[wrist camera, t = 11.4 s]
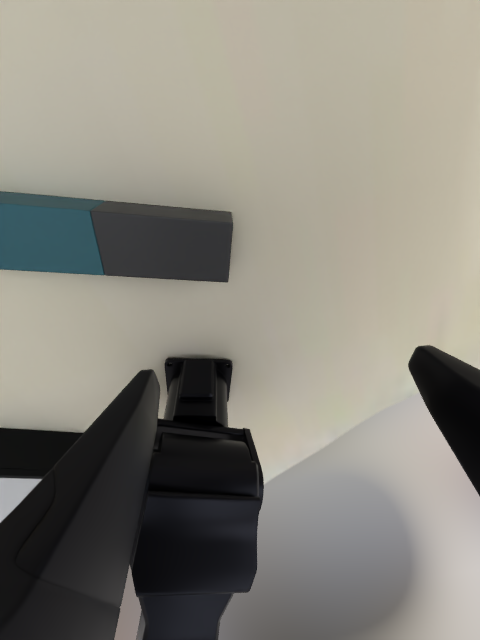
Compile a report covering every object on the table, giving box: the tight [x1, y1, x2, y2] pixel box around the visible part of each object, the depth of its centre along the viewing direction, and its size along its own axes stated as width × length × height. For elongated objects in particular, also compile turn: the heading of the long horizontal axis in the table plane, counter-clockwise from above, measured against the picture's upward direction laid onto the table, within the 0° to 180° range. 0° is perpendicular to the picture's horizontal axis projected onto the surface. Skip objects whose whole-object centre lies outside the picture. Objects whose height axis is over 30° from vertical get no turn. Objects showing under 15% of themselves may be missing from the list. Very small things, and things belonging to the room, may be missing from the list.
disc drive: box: [0, 428, 83, 523], centre depth 34 cm, size 18×22×5 cm
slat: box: [0, 191, 233, 282], centre depth 16 cm, size 16×4×2 cm, turn 84°
